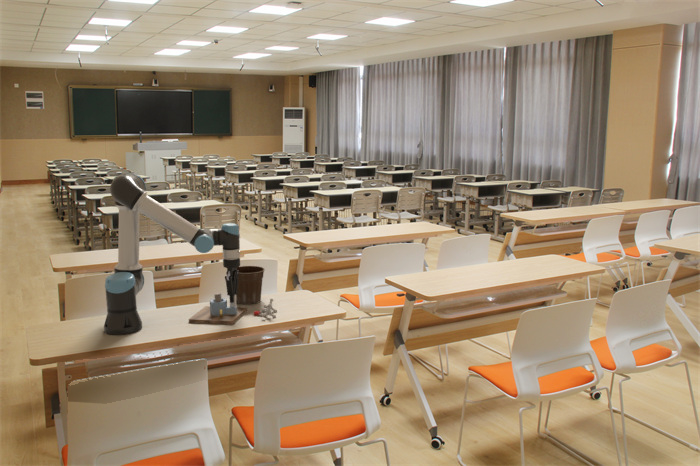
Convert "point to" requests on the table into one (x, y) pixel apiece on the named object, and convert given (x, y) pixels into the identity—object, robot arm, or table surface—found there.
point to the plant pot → (249, 284)
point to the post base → (206, 317)
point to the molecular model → (266, 310)
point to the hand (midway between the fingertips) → (233, 308)
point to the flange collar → (222, 305)
